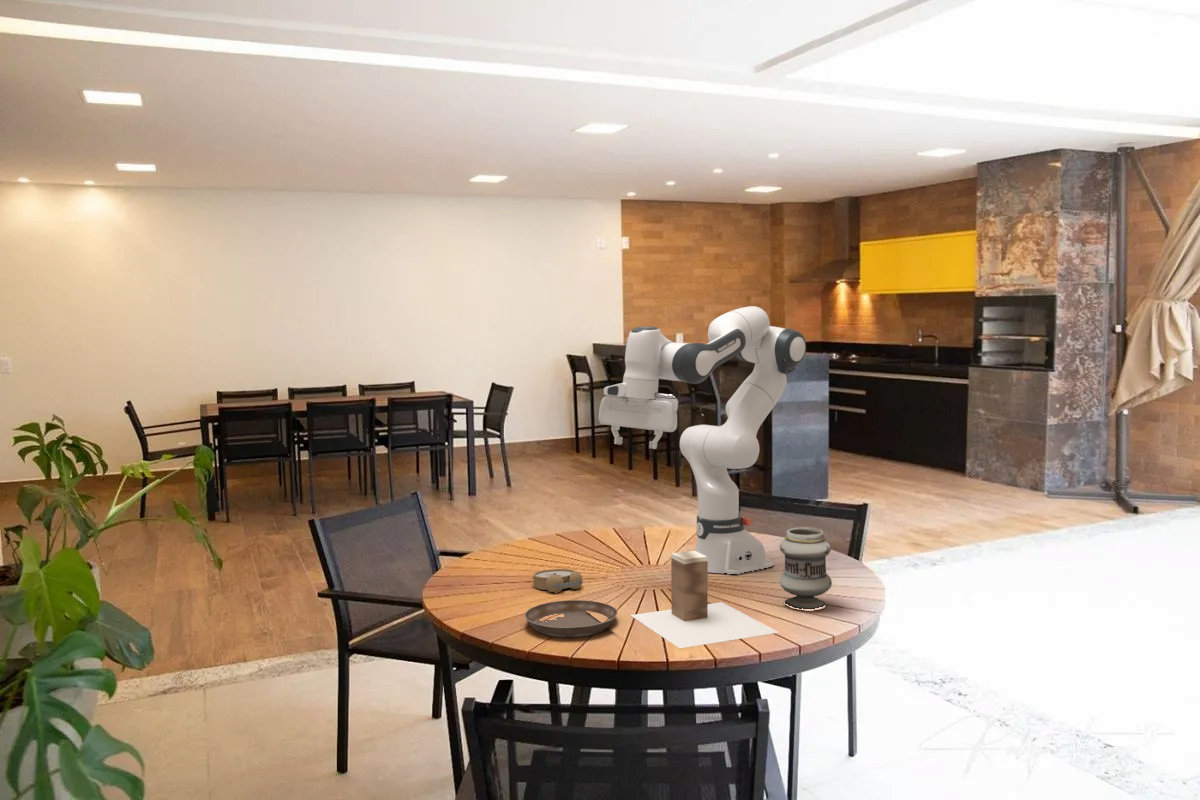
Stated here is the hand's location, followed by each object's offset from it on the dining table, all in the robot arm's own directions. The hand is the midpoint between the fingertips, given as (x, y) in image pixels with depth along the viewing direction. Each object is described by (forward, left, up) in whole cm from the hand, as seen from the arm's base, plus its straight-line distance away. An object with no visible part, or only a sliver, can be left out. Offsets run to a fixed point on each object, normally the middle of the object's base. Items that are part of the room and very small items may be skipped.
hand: (635, 446), depth 231 cm
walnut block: (-1, +26, -36) cm, 44 cm away
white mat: (-1, +32, -37) cm, 49 cm away
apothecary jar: (-31, +28, -37) cm, 56 cm away
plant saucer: (+25, +19, -37) cm, 49 cm away
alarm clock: (+17, -10, -37) cm, 42 cm away
